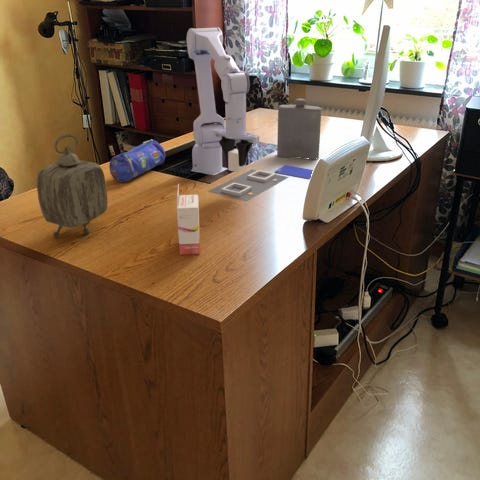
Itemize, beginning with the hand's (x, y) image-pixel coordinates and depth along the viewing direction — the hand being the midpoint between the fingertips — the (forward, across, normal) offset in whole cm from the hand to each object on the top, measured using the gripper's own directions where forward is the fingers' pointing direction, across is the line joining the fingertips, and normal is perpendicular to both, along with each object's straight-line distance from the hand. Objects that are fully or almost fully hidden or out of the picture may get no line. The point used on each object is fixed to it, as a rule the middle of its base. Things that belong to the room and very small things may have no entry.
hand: (236, 164), depth 156 cm
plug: (+2, 0, 0) cm, 2 cm away
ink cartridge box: (+9, +11, -36) cm, 38 cm away
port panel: (+9, 0, +7) cm, 11 cm away
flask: (+9, -2, +42) cm, 43 cm away
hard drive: (+10, +7, +25) cm, 27 cm away
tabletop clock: (+9, -17, -44) cm, 48 cm away
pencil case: (+9, -37, -3) cm, 38 cm away
